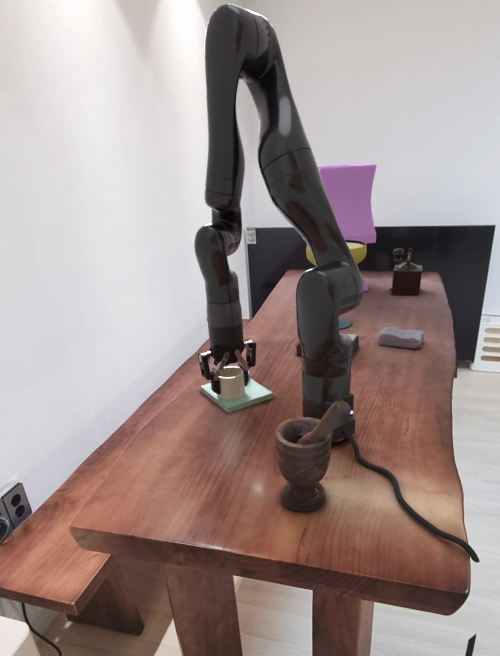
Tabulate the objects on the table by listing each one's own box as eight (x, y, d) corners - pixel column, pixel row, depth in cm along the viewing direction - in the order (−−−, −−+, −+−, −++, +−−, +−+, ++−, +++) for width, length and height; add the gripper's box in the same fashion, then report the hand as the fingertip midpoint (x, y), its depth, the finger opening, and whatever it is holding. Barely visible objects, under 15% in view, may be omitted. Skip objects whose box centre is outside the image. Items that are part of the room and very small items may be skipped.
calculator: (308, 330, 138) (359, 332, 131) (309, 343, 140) (359, 347, 133) (295, 342, 129) (348, 346, 123) (296, 357, 131) (348, 361, 124)
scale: (273, 397, 109) (273, 386, 107) (228, 413, 103) (227, 401, 102) (242, 377, 120) (242, 366, 118) (200, 390, 114) (198, 379, 113)
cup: (250, 394, 108) (248, 373, 105) (225, 402, 105) (223, 380, 102) (236, 385, 113) (234, 364, 110) (212, 392, 110) (210, 371, 107)
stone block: (384, 340, 142) (376, 344, 133) (386, 324, 140) (378, 328, 132) (424, 346, 137) (418, 351, 128) (427, 330, 135) (422, 334, 127)
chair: (303, 283, 201) (302, 167, 180) (352, 278, 204) (357, 163, 183) (318, 296, 182) (319, 168, 161) (372, 291, 185) (380, 164, 164)
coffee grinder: (390, 288, 187) (394, 241, 179) (419, 288, 184) (425, 241, 176) (388, 298, 174) (392, 249, 166) (419, 299, 171) (424, 249, 163)
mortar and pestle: (353, 490, 78) (359, 383, 68) (343, 525, 71) (348, 410, 61) (286, 478, 81) (283, 375, 72) (271, 510, 74) (265, 400, 65)
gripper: (202, 332, 94) (210, 404, 102) (262, 317, 101) (265, 386, 109) (187, 322, 100) (195, 391, 108) (244, 309, 106) (248, 375, 114)
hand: (230, 388), depth 108 cm, fingers closed on cup, 6 cm apart
